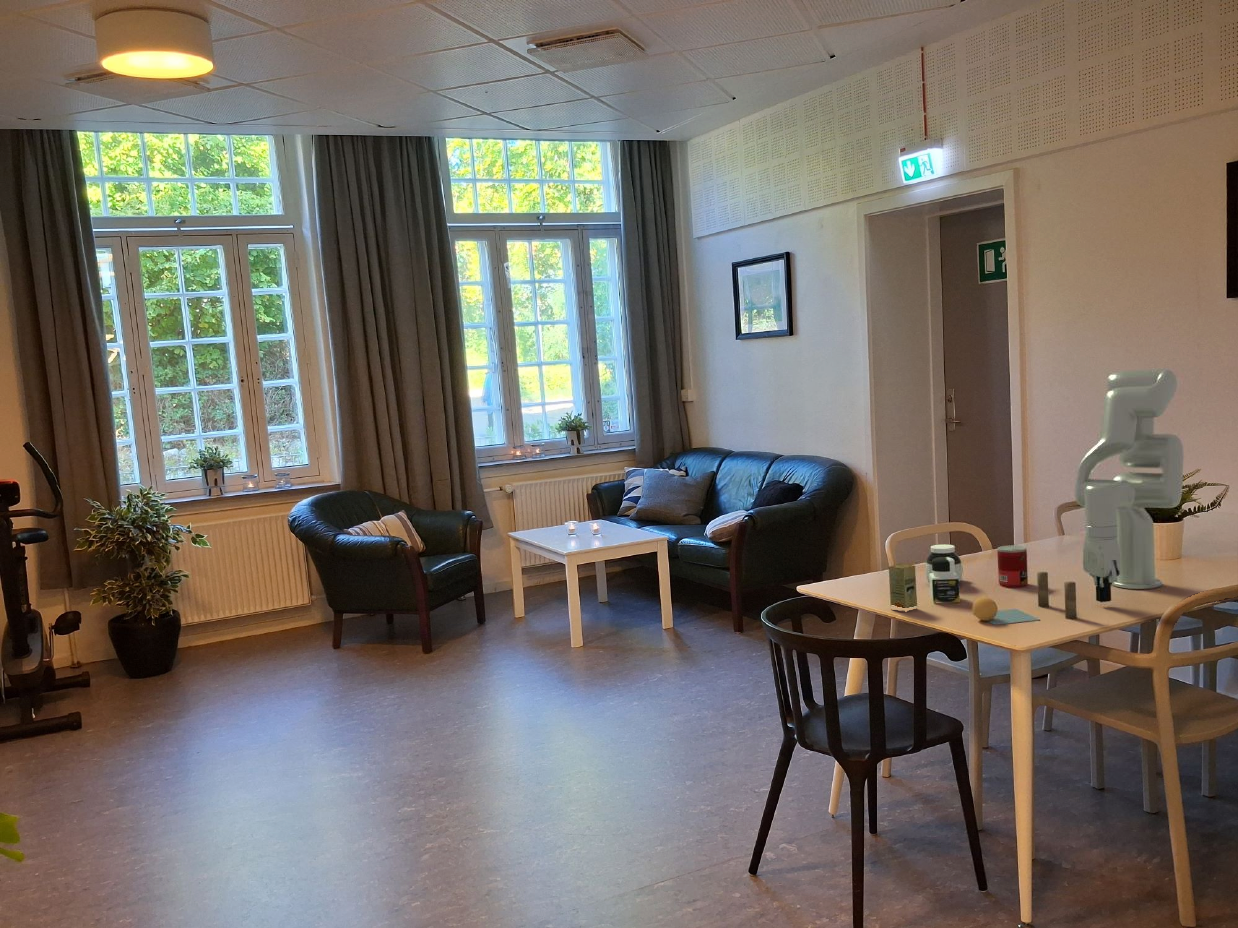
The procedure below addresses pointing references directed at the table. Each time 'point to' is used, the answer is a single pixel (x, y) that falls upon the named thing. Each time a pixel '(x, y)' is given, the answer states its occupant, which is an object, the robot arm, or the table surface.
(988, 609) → the ball
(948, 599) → the medicine bottle
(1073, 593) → the post
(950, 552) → the spread jar
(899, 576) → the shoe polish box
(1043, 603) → the post
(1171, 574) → the table surface
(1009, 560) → the canned food
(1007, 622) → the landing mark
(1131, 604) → the table surface
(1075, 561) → the table surface
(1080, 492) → the robot arm
